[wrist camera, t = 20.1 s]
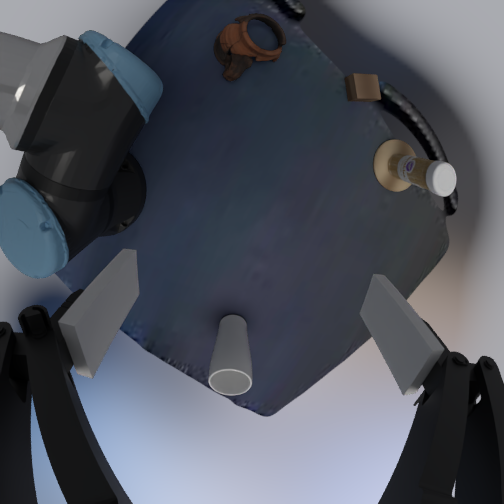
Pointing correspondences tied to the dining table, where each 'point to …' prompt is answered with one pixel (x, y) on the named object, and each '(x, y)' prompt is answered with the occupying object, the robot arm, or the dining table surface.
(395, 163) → the sprinkles bottle
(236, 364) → the drinking glass
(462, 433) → the robot arm
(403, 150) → the cork coaster
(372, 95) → the walnut block
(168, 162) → the dining table surface
